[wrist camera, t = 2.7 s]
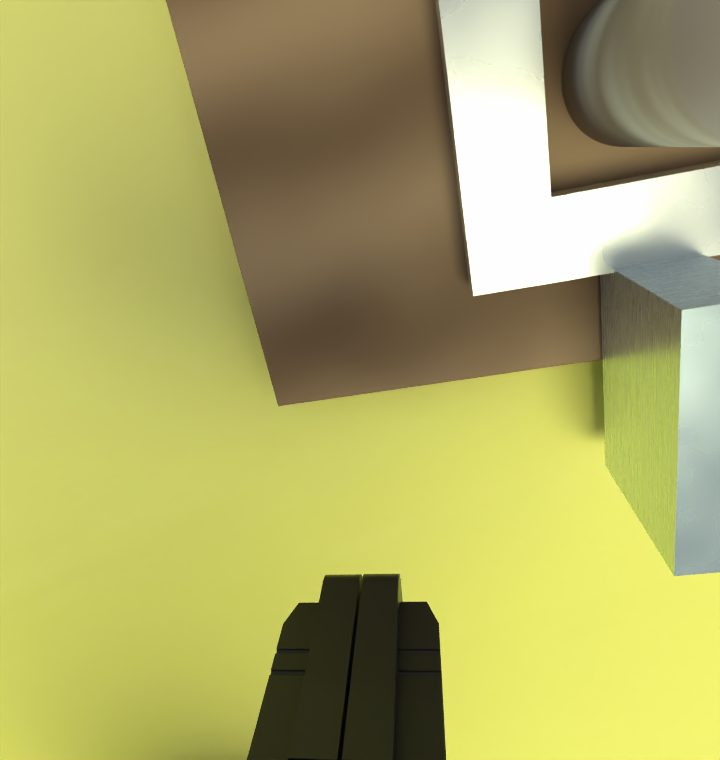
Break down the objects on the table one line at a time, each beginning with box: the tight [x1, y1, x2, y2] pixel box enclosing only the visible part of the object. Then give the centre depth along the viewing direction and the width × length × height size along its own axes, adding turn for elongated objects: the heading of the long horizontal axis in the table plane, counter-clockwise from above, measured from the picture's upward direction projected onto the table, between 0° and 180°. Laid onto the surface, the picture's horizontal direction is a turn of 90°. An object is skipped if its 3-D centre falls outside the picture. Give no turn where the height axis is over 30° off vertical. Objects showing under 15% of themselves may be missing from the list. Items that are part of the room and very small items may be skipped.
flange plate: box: [435, 0, 720, 576], centre depth 14 cm, size 18×10×6 cm, turn 11°
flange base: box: [166, 0, 720, 406], centre depth 12 cm, size 17×25×8 cm
